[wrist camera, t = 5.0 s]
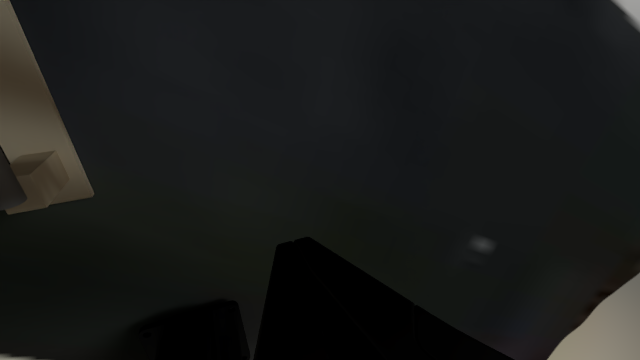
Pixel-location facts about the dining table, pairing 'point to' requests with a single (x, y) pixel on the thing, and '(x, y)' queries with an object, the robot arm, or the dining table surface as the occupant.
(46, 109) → the catapult stand
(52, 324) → the dining table surface
